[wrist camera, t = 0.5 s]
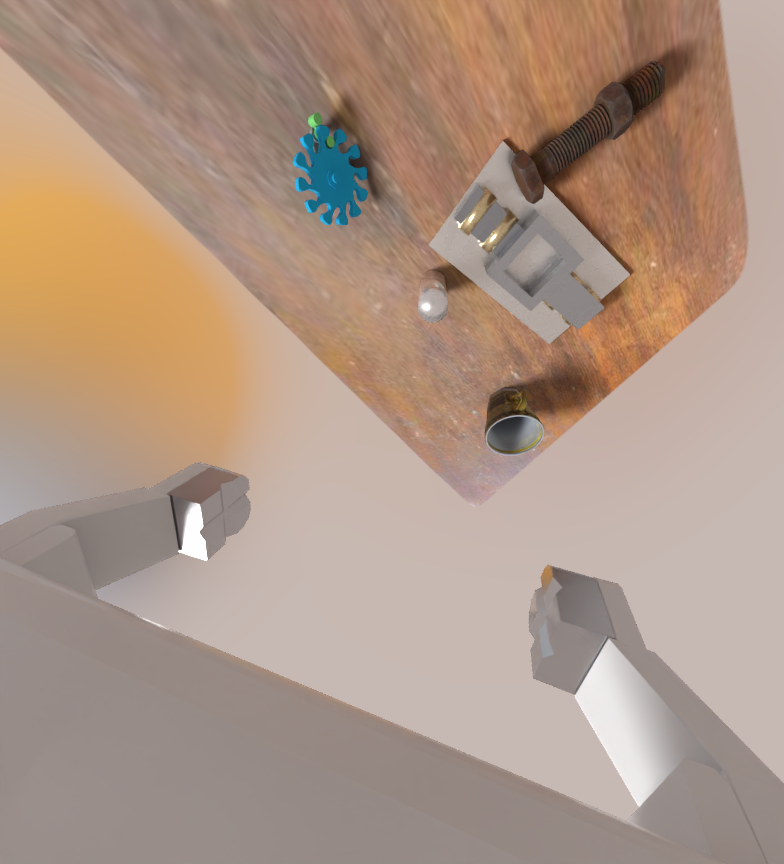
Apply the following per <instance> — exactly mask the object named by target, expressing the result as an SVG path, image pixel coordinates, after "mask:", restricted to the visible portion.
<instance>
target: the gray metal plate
mask: <svg viewBox="0 0 784 864" xmlns="http://www.w3.org/2000/svg"><path fill="white" fill-rule="evenodd" d="M514 156H516V154H515V153H514V152H513V151H512V150H511V149H510V148H509V147H508V146H507V145H506V143H505V142H504V141H501V143H500V144H499V146H498V147H497V148H496V150H495V151H494V153H493V154H492V155H491V157H490V158H489V160H488V161H487V162H486V164H485V165H484V167H483V168H482V169H481V171H480V172H479V174H478V175H477V177H476V178H475V179H474V181H473V182H472V184H471V185H470V186H469V188H468V189H467V191H466V192H465V193H464V195H463V196H462V198H461V199H460V200H459V202H458V203H457V205H456V206H455V207H454V209H453V210H452V212H451V213H450V215H449V216H448V217H447V219H446V220H445V222H444V223H443V224H442V226H441V227H440V229H439V230H438V231H437V233H436V234H435V236H434V237H433V238H432V240H431V241H430V243H429V246H430V247H431V248H433V249H434V250H435V251H436V252H437V253H439V254H440V255H441V256H442V257H444V258H445V259H446V260H447V261H448V262H450V263H451V264H452V265H453V266H455V267H456V268H457V269H458V270H459V271H461V272H462V273H463V274H464V275H466V276H467V277H468V278H469V279H470V280H472V281H473V282H474V283H475V284H477V285H478V286H479V287H480V288H481V289H483V290H484V291H485V292H486V293H488V294H489V295H490V296H491V297H492V298H494V299H495V300H496V301H497V302H499V303H500V304H501V305H502V306H503V307H505V308H506V309H507V310H508V311H510V312H511V313H512V314H513V315H514V316H516V317H517V318H518V319H519V320H521V321H522V322H523V323H524V324H525V325H527V326H528V327H529V328H530V329H532V330H533V331H534V332H535V333H536V334H538V335H539V336H540V337H541V338H543V339H544V340H545V341H546V342H547V343H549V344H550V343H551V342H552V341H553V340H555V339H556V338H557V337H558V336H559V335H560V334H562V333H563V332H564V331H565V330H566V329H567V328H569V327H570V326H571V325H573V326H574V327H576V328H577V329H578V330H579V329H580V328H581V327H582V326H583V325H585V324H586V323H587V322H588V321H589V320H591V319H592V318H593V317H594V316H595V315H597V314H598V313H599V312H600V311H601V310H603V309H604V308H605V307H604V306H603V305H602V303H601V302H600V300H601V299H603V298H604V297H605V296H606V295H607V294H608V293H610V292H611V291H612V290H613V289H614V288H615V287H617V286H618V285H619V284H620V283H621V282H622V281H624V280H625V279H626V278H627V277H628V276H629V275H630V274H629V273H628V272H627V271H626V270H625V269H624V267H623V266H622V265H621V264H620V263H619V262H618V261H617V260H616V259H615V258H614V257H613V256H612V255H611V254H610V253H609V252H608V251H607V250H606V249H605V248H604V246H603V245H602V244H601V243H600V242H599V241H598V240H597V239H596V238H595V237H594V236H593V235H592V234H591V233H590V232H589V231H588V230H587V229H586V228H585V227H584V225H583V224H582V223H581V222H580V221H579V220H578V219H577V218H576V217H575V216H574V215H573V214H572V213H571V212H570V211H569V210H568V209H567V208H566V207H565V205H564V204H563V203H562V202H561V201H560V200H559V199H558V198H557V197H556V196H555V195H554V194H553V193H552V192H551V191H550V190H549V189H548V188H547V187H546V186H545V184H544V188H545V189H544V194H543V198H542V199H541V200H539V201H538V202H536V203H535V204H532V203H529V202H528V201H527V200H526V199H525V197H524V195H523V194H522V192H521V190H520V188H519V186H518V184H517V183H516V180H515V177H514V174H513V171H512V167H511V163H512V160H513V158H514Z"/></svg>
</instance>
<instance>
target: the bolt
mask: <svg viewBox="0 0 784 864" xmlns="http://www.w3.org/2000/svg"><path fill="white" fill-rule="evenodd" d="M664 84H665V69H664V67H663V66H662V65H660V64H659V63H658V62H656V61H651V62H650V63H649V64H647V65H646V66H645V67H644V68H642V70H640V71H639V72H638V73H636V74H635V75H634V76H632V78H630V79H629V80H628V81H626V82H625V83H624V84H620V83H616V82H611V83H610V84H609V85H607V86H606V87H605V88H604V89H602V90H601V91H600V93H599V94H598V96H597V98H596V100H595V103H594V108H592V110H590V111H589V112H588V113H586V114H585V115H584V116H583V117H582V118H580V119H579V120H578V121H576V123H574V124H573V125H572V126H570V128H568V129H567V130H565V131H564V133H561V135H559V136H558V137H556V138H555V140H553V141H552V142H550V143H549V144H548V145H547V146H546V147H544V148H543V149H540V150H539V151H538V152H536V153H535V154H534V155H533V156H531V157H529V156H528V154H527V153H526V152H525V151H524V150H522V151H520V152H519V153H518V154H517V155H516V156H514V158H513V160H512V163H511V167H512V171H513V174H514V177H515V180H516V183H517V184H518V186H519V188H520V190H521V192H522V194H523V195H524V197H525V199H526V200H527V201H528V202H529V203H532V204H535V203H536V202H538V201H539V200H541V199H542V198H543V194H544V189H545V188H544V184H546V183H547V182H548V181H550V180H551V179H552V178H554V176H555V175H556V174H558V173H559V172H560V171H561V170H562V169H564V168H565V167H567V165H570V163H572V162H573V160H576V159H577V158H579V156H582V154H584V153H585V151H586V152H587V151H588V149H591V147H593V146H594V144H595V145H596V144H597V142H600V140H602V139H603V138H604V137H606V138H608V139H612V140H615V139H616V138H618V137H619V136H620V135H622V134H623V133H624V132H625V131H626V130H627V129H628V128H629V126H630V125H631V123H632V120H633V115H635V114H636V113H638V112H639V111H640V110H642V109H643V108H644V107H646V105H648V104H649V103H650V102H652V101H653V100H655V99H656V98H657V97H659V96H660V94H661V93H662V92H663V90H664Z"/></svg>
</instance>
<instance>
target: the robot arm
mask: <svg viewBox="0 0 784 864" xmlns="http://www.w3.org/2000/svg"><path fill="white" fill-rule="evenodd" d="M248 490H249V480H248V479H247V478H246V477H245V476H243V475H240V474H237V473H234V472H231V471H228V470H225V469H222V468H219V467H214V466H211V465H208V464H205V463H202V462H200V463H194V464H192V465H190V466H189V467H187V468H185V469H184V470H181V471H180V472H178V473H176V474H174V475H173V476H171V477H169V478H167V479H166V480H164V481H162V482H160V483H158V484H157V485H155V486H154V487H151V488H150V489H147V488H139V489H134V490H130V491H125V492H120V493H115V494H110V495H106V496H101V497H96V498H91V499H86V500H82V501H77V502H72V503H67V504H62V505H57V506H52V507H48V508H43V509H38V510H33V511H30V512H27V513H25V514H23V515H21V516H19V517H17V518H15V519H13V520H11V521H8V522H6V523H4V524H2V525H0V864H784V783H783V782H782V781H781V780H780V779H779V778H778V777H777V776H776V775H775V774H774V773H773V772H772V771H771V770H770V769H769V768H768V767H767V766H766V765H765V764H764V763H763V762H762V761H761V760H760V759H759V758H758V757H757V756H756V755H755V754H754V753H753V752H752V751H751V750H750V749H749V748H748V747H747V746H746V745H745V744H744V743H743V742H742V741H741V740H740V739H739V738H738V737H737V736H736V735H735V734H734V733H733V731H732V730H731V729H730V728H729V727H728V726H727V725H726V724H725V723H724V722H723V721H722V720H720V718H719V717H718V716H717V715H716V714H715V713H714V712H713V711H712V710H711V709H710V708H709V707H708V706H707V705H706V704H705V703H704V702H703V701H702V700H701V699H700V698H699V697H698V696H697V695H696V694H695V693H694V692H693V691H692V690H691V689H690V688H689V687H688V686H687V685H686V684H685V683H684V682H683V681H682V680H681V679H680V678H679V677H678V676H677V675H676V674H675V673H674V671H673V670H671V668H670V667H669V666H668V665H667V664H666V663H665V662H664V661H663V660H662V659H661V658H660V657H659V656H658V655H657V654H656V653H655V652H651V651H649V650H647V649H646V647H645V644H644V642H643V639H642V637H641V634H640V632H639V630H638V627H637V624H636V622H635V620H634V617H633V615H632V612H631V610H630V607H629V605H628V602H627V600H626V597H625V595H624V592H623V590H622V588H621V587H620V586H619V585H618V584H617V583H613V582H609V581H606V580H602V579H598V578H595V577H594V578H592V577H589V576H585V575H582V574H578V573H575V572H571V571H568V570H564V569H561V568H557V567H554V566H550V565H547V566H546V567H545V569H544V571H543V573H542V576H541V582H542V587H541V588H539V589H537V590H535V593H534V595H533V598H532V601H531V606H530V611H529V631H530V633H531V635H532V636H533V637H534V639H535V641H534V643H533V645H532V648H531V658H532V671H533V678H534V679H536V680H539V681H541V682H544V683H546V684H549V685H552V686H554V687H557V688H559V689H562V690H565V691H567V692H569V693H572V694H575V698H576V700H577V702H578V703H579V705H580V707H581V709H582V710H583V712H584V714H585V716H586V717H587V719H588V721H589V723H590V724H591V726H592V728H593V729H594V731H595V733H596V734H597V736H598V738H599V740H600V741H601V743H602V745H603V747H604V748H605V750H606V752H607V753H608V755H609V757H610V758H611V760H612V762H613V764H614V765H615V767H616V769H617V771H618V772H619V774H620V776H621V777H622V779H623V781H624V782H625V784H626V786H627V788H628V789H629V791H630V793H631V795H632V796H633V798H634V800H635V802H636V803H637V805H638V807H639V808H638V809H637V810H636V811H635V812H634V813H633V814H632V815H631V817H630V818H629V819H628V820H627V821H625V820H623V819H620V818H618V817H616V816H613V815H611V814H609V813H606V812H604V811H602V810H599V809H597V808H594V807H592V806H590V805H587V804H585V803H583V802H580V801H577V800H576V799H573V798H571V797H568V796H566V795H564V794H561V793H559V792H557V791H554V790H552V789H549V788H547V787H544V786H542V785H540V784H537V783H535V782H532V781H530V780H528V779H526V778H523V777H521V776H518V775H516V774H514V773H511V772H509V771H507V770H504V769H502V768H499V767H497V766H495V765H492V764H490V763H488V762H485V761H483V760H480V759H478V758H476V757H473V756H471V755H468V754H466V753H464V752H461V751H459V750H457V749H454V748H452V747H449V746H447V745H444V744H442V743H440V742H438V741H435V740H433V739H430V738H428V737H426V736H423V735H421V734H419V733H416V732H413V731H411V730H409V729H407V728H404V727H402V726H399V725H397V724H394V723H392V722H390V721H387V720H385V719H382V718H380V717H378V716H376V715H373V714H371V713H369V712H366V711H364V710H361V709H359V708H356V707H354V706H352V705H349V704H347V703H345V702H342V701H340V700H338V699H335V698H333V697H330V696H328V695H326V694H323V693H321V692H318V691H316V690H314V689H311V688H309V687H307V686H304V685H302V684H299V683H297V682H295V681H292V680H290V679H288V678H285V677H283V676H280V675H278V674H276V673H273V672H271V671H269V670H266V669H264V668H261V667H259V666H257V665H254V664H252V663H250V662H247V661H245V660H242V659H240V658H238V657H235V656H233V655H230V654H228V653H226V652H223V651H221V650H219V649H216V648H214V647H211V646H209V645H207V644H204V643H202V642H200V641H197V640H194V639H193V638H190V637H188V636H185V635H183V634H181V633H178V632H175V631H173V630H171V629H168V628H166V627H164V626H162V625H159V624H157V623H154V622H152V621H150V620H147V619H145V618H143V617H140V616H138V615H135V614H133V613H131V612H128V611H126V610H124V609H121V608H119V607H116V606H114V605H112V604H109V603H107V602H104V601H102V600H100V599H98V597H97V594H96V591H95V590H97V589H100V588H102V587H104V586H106V585H109V584H111V583H113V582H116V581H118V580H120V579H122V578H124V577H127V576H129V575H131V574H134V573H136V572H138V571H141V570H143V569H145V568H147V567H149V566H152V565H154V564H156V563H159V562H161V561H163V560H165V559H168V558H170V557H172V556H175V555H177V554H179V552H182V553H185V554H188V555H191V556H194V557H197V558H201V559H204V560H208V559H209V558H210V557H211V556H212V555H214V554H215V553H216V552H217V551H218V550H219V549H220V548H221V547H222V546H223V545H225V541H226V537H228V536H231V535H234V534H236V533H238V532H239V530H241V529H242V528H243V527H244V525H245V523H246V521H247V520H248V518H249V514H250V501H249V499H248V498H247V496H246V495H245V494H246V493H247V491H248Z"/></svg>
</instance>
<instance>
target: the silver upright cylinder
mask: <svg viewBox="0 0 784 864" xmlns="http://www.w3.org/2000/svg"><path fill="white" fill-rule="evenodd" d="M418 311H419V314H420V316H421V318H422V319H424V320H425V321H427V322H438V321H440V320H442V319H443V318H444V317H445V315H446V314H447V311H448V302H447V292H446V281H445V277H444V275H443V274H442V273H441V272H439V271H437V270H430V271H427V272H425V273H424V274H423V275H422V277H421V279H420V285H419V306H418Z"/></svg>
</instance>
